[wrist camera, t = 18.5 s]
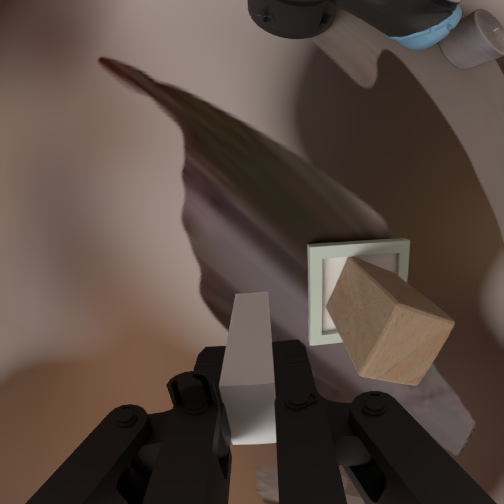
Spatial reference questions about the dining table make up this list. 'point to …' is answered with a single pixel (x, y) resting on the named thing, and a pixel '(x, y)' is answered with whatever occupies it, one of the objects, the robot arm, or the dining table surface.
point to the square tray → (330, 267)
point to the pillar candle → (474, 40)
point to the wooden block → (386, 323)
